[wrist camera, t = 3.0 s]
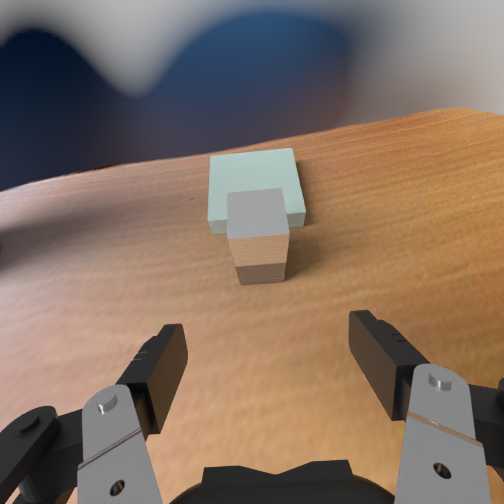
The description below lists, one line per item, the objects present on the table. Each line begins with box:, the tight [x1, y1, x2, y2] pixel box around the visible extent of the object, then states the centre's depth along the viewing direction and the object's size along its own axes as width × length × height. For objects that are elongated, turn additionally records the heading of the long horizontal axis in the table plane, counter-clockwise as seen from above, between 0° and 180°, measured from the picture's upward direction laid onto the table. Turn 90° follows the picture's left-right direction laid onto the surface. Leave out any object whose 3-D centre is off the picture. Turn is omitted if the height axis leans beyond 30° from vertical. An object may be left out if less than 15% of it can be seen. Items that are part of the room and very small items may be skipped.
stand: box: [208, 148, 306, 235], centre depth 33 cm, size 12×12×3 cm
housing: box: [227, 188, 290, 285], centre depth 24 cm, size 5×5×10 cm
